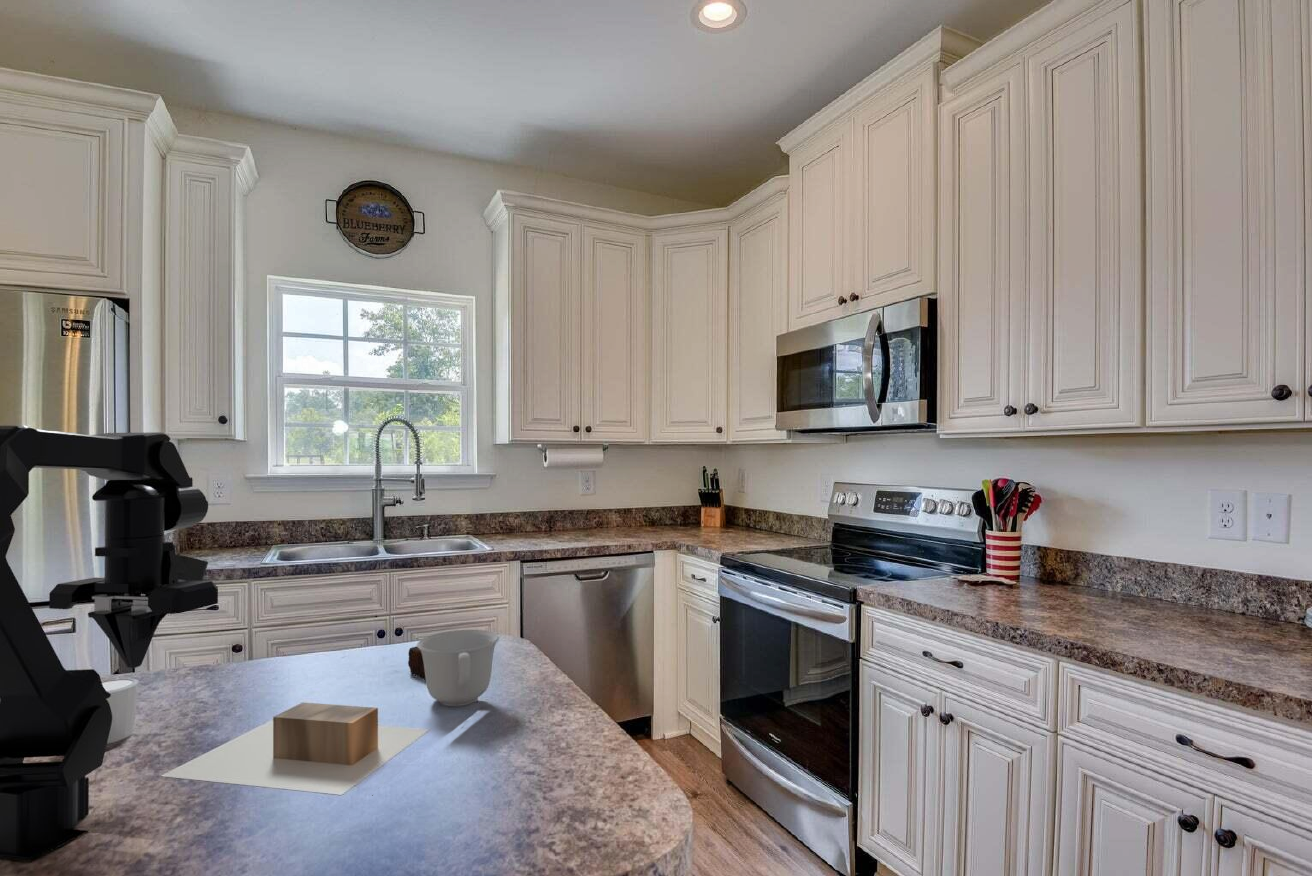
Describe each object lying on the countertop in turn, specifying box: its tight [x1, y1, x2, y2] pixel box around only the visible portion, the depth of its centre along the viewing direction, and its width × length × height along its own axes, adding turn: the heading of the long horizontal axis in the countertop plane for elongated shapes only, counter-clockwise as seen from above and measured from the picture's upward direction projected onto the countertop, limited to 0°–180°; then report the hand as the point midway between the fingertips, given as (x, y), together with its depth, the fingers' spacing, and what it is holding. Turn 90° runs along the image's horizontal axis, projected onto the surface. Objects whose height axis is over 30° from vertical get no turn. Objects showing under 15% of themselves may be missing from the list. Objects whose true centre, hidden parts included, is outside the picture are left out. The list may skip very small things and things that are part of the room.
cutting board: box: [160, 719, 431, 796], centre depth 85 cm, size 18×24×1 cm
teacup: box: [416, 629, 500, 707], centre depth 102 cm, size 12×15×10 cm
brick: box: [407, 645, 426, 680], centre depth 117 cm, size 11×4×5 cm, turn 52°
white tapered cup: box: [101, 678, 140, 745], centre depth 93 cm, size 7×7×7 cm
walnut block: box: [272, 702, 379, 765], centre depth 85 cm, size 5×5×11 cm
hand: (134, 667), depth 81 cm, fingers closed
